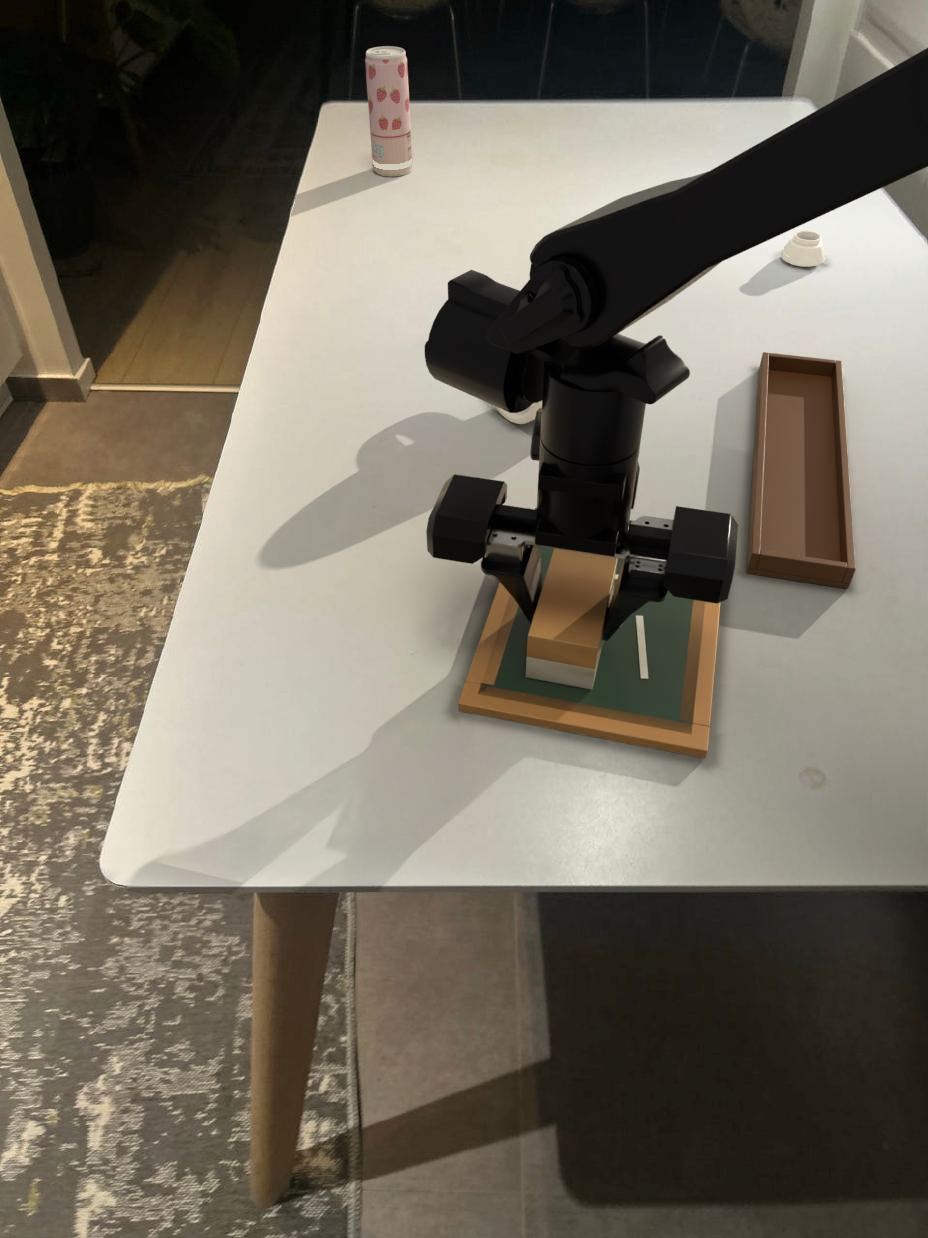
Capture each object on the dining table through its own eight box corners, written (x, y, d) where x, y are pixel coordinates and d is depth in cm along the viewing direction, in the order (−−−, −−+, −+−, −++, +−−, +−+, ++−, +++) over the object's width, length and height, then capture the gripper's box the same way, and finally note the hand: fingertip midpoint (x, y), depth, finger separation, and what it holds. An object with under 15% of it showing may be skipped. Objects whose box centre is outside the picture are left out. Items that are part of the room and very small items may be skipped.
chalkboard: (723, 556, 71) (725, 547, 71) (705, 758, 57) (708, 750, 57) (521, 525, 74) (521, 516, 74) (457, 711, 60) (457, 702, 60)
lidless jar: (829, 257, 110) (788, 248, 112) (836, 232, 108) (794, 223, 110) (815, 272, 107) (773, 263, 109) (821, 247, 105) (779, 237, 107)
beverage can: (366, 167, 133) (357, 48, 123) (402, 160, 135) (395, 43, 125) (383, 179, 130) (374, 58, 119) (419, 172, 132) (414, 52, 121)
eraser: (551, 588, 68) (554, 547, 65) (612, 599, 67) (618, 557, 64) (525, 677, 61) (527, 635, 59) (592, 690, 60) (597, 648, 58)
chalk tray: (836, 379, 90) (842, 360, 89) (848, 589, 68) (856, 568, 67) (758, 370, 91) (762, 351, 90) (746, 573, 70) (752, 553, 68)
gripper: (762, 385, 56) (717, 576, 67) (467, 351, 60) (469, 537, 71) (756, 492, 49) (705, 687, 60) (418, 445, 52) (429, 637, 63)
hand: (571, 630), depth 64 cm, fingers closed on eraser, 4 cm apart
